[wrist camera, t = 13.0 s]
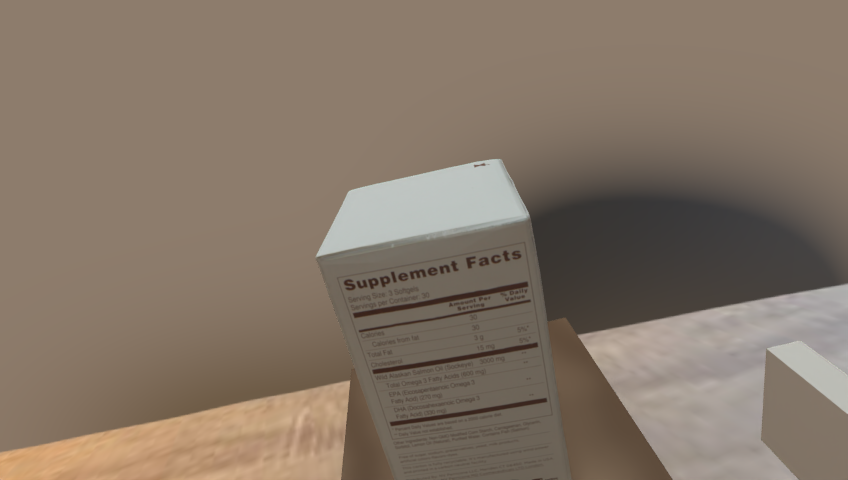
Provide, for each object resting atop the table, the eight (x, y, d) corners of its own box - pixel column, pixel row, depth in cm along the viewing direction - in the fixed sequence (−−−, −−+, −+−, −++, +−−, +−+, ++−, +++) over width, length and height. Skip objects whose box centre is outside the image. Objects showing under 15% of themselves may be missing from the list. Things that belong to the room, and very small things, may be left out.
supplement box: (410, 397, 28) (346, 186, 23) (542, 375, 27) (505, 152, 22) (400, 518, 21) (306, 255, 16) (576, 494, 20) (534, 209, 15)
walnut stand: (573, 379, 33) (565, 317, 31) (729, 655, 18) (731, 569, 16) (372, 427, 33) (351, 368, 31) (364, 738, 18) (324, 664, 16)
